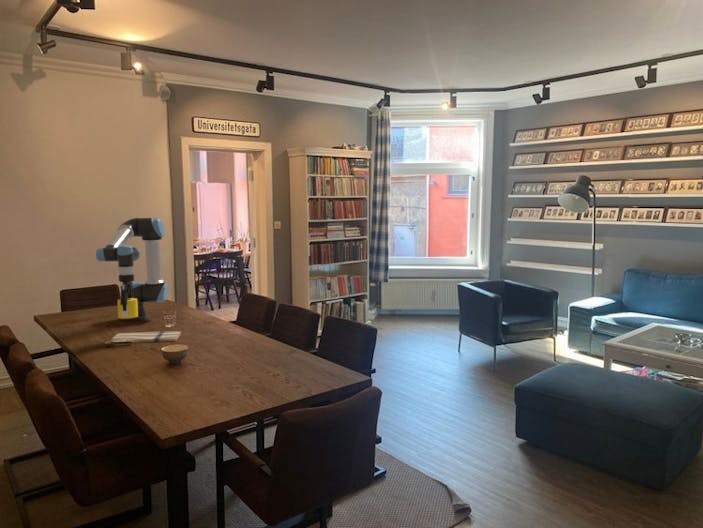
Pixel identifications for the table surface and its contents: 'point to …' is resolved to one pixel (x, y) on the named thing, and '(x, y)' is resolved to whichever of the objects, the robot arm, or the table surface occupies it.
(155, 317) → the table surface
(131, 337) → the board
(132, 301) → the tape roll
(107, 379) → the table surface
